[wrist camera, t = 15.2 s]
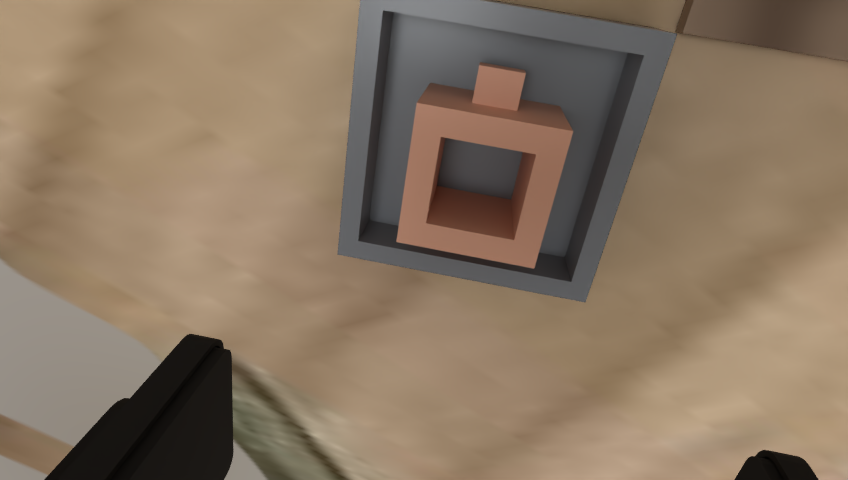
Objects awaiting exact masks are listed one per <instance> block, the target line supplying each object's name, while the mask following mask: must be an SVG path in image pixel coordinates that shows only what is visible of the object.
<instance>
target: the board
mask: <svg viewBox="0 0 848 480" xmlns="http://www.w3.org/2000/svg"><path fill="white" fill-rule="evenodd" d="M676 32H680V33H684V34H690V35H696V36H702V37H708V38H714V39H720V40H725V41H731V42H737V43H743V44H749V45H755V46H761V47H766V48H772V49H778V50H784V51H790V52H796V53H802V54H807V55H813V56H819V57H825V58H831V59H837V60H843V61H848V0H686V2H685V5H684V8H683V11H682V14H681V17H680V20H679V23H678V26H677V29H676Z"/></svg>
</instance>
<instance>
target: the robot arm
mask: <svg viewBox="0 0 848 480" xmlns="http://www.w3.org/2000/svg"><path fill="white" fill-rule="evenodd" d="M232 458H233V411H232V357H231V352H230V350H227V349H224V347H223V343H222V341H221V340H219V339H214V338H209V337H204V336H199V335H194V334H189V335H187V336H185V337H184V338H183V339H182V340H181V341H180V343H179V344H178V345H177V346H176V347H175V348H174V349H173V350H172V352H171V353H170V354H169V355H168V356H167V357H166V358H165V360H164V361H163V362H162V363H161V364H160V365H159V366H158V367H157V369H156V370H155V371H154V372H153V373H152V374H151V375H150V376H149V378H148V379H147V380H146V381H145V382H144V383H143V384H142V386H141V387H140V388H139V389H138V390H137V391H136V392H135V393H134V395H133V396H132V397H131V398H130V399H129V398H124V399H122V400H120V401H117V402H116V403H115V404H114V405H113V406H112V407H111V408H110V409H109V410H108V411H107V412H106V413H105V414H104V415H103V416H102V417H101V418H100V420H99V421H98V422H97V423H96V424H95V425H94V426H93V427H92V428H91V429H90V430H89V432H88V433H87V434H86V435H85V436H84V437H83V438H82V439H81V440H80V441H79V443H78V444H77V445H76V446H75V447H74V448H73V449H72V450H71V451H70V452H69V453H68V454H67V456H66V457H65V458H64V459H63V460H62V461H61V462H60V463H59V464H58V465H57V466H56V468H55V469H54V470H53V471H52V472H51V473H50V474H49V475H48V476H47V477H46V479H45V480H224V478H225V476H226V475H227V473H228V470H229V468H230V465H231V462H232ZM735 480H818V478H817V477H816V475H815V474H814V472H813V471H812V469H811V467H810V466H809V465H808V463H807V462H806V461H805V460H804V459H802V458H800V457H798V456H793V455H788V454H783V453H778V452H773V451H768V450H762V451H760V452H759V453H758V454H757V455H756V456H755V457H754V456H751V457H749V458H748V459H747V460H746V461H745V463H744V465H743V466H742V468H741V470H740V471H739V473H738V475H737V476H736V478H735Z"/></svg>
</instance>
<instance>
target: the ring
mask: <svg viewBox="0 0 848 480" xmlns="http://www.w3.org/2000/svg"><path fill="white" fill-rule="evenodd" d="M525 75H526V72H525V70H521V69H516V68H510V67H504V66H499V65H493V64H488V63H482V62H480V64H479V69H478V74H477V79H476V85H475V90H474V91H473V90H468V89H462V88H457V87H451V86H446V85H440V84H435V83H430V84H429V85H428V87H427V88H426V90H425V91H424V93H423V94H422V96H421V97H420V99H419V100H418V102H417V104H416V111H415V118H414V124H413V131H412V138H411V145H410V152H409V159H408V165H407V172H406V179H405V186H404V193H403V200H402V206H401V213H400V220H399V227H398V234H397V241H396V242H399V243H404V244H410V245H415V246H420V247H425V248H430V249H435V250H441V251H446V252H451V253H456V254H461V255H466V256H471V257H477V258H482V259H487V260H492V261H497V262H502V263H508V264H513V265H518V266H523V267H528V268H533V269H534V268H535V264H536V261H537V257H538V254H539V250H540V247H541V243H542V240H543V236H544V233H545V229H546V226H547V222H548V219H549V215H550V212H551V208H552V205H553V201H554V198H555V194H556V190H557V187H558V183H559V180H560V176H561V173H562V169H563V166H564V162H565V159H566V155H567V152H568V148H569V145H570V141H571V138H572V134H573V130H572V128H571V126H570V124H569V122H568V121H567V119H566V117H565V115H564V113H563V111H562V109H561V108H560V106H556V105H551V104H545V103H540V102H534V101H529V100H523V99H520V97H521V92H522V88H523V84H524V79H525ZM445 138H450V139H455V140H461V141H466V142H471V143H477V144H482V145H488V146H493V147H498V148H504V149H509V150H515V151H520V152H523V154H522V158H521V162H520V166H519V170H518V174H517V178H516V182H515V186H514V190H513V194H512V198H511V200H510V199H504V198H499V197H494V196H488V195H483V194H478V193H472V192H467V191H462V190H457V189H451V188H446V187H441V186H437V183H438V177H439V171H440V166H441V160H442V154H443V149H444V143H445Z"/></svg>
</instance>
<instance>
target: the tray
mask: <svg viewBox="0 0 848 480" xmlns="http://www.w3.org/2000/svg"><path fill="white" fill-rule="evenodd" d="M676 36H677V34H676V33H672V32H668V31H664V30H661V29H657V28H652V27H647V26H641V25H635V24H629V23H623V22H617V21H611V20H606V19H600V18H594V17H588V16H582V15H576V14H570V13H564V12H559V11H553V10H547V9H541V8H535V7H529V6H523V5H518V4H512V3H506V2H500V1H494V0H360V8H359V19H358V30H357V42H356V53H355V64H354V75H353V87H352V98H351V109H350V121H349V132H348V143H347V154H346V166H345V177H344V188H343V199H342V211H341V222H340V233H339V244H338V255H343V256H348V257H354V258H359V259H364V260H369V261H374V262H379V263H385V264H390V265H395V266H400V267H405V268H410V269H416V270H421V271H426V272H431V273H436V274H441V275H447V276H452V277H457V278H462V279H467V280H472V281H478V282H483V283H488V284H493V285H498V286H503V287H509V288H514V289H519V290H524V291H529V292H534V293H540V294H545V295H550V296H555V297H560V298H565V299H571V300H576V301H581V302H586V299H587V296H588V293H589V290H590V287H591V284H592V281H593V278H594V276H595V273H596V270H597V267H598V264H599V261H600V258H601V255H602V252H603V249H604V246H605V243H606V240H607V238H608V235H609V232H610V229H611V226H612V223H613V220H614V217H615V214H616V211H617V208H618V205H619V203H620V200H621V197H622V194H623V191H624V188H625V185H626V182H627V179H628V176H629V173H630V170H631V167H632V165H633V162H634V159H635V156H636V153H637V150H638V147H639V144H640V141H641V138H642V135H643V132H644V129H645V127H646V124H647V121H648V118H649V115H650V112H651V109H652V106H653V103H654V100H655V97H656V94H657V91H658V89H659V86H660V83H661V80H662V77H663V74H664V71H665V68H666V65H667V62H668V59H669V56H670V53H671V51H672V48H673V45H674V42H675V39H676ZM480 62H482V63H488V64H493V65H499V66H504V67H510V68H516V69H521V70H525V72H526V75H525V79H524V84H523V88H522V92H521V97H520V99H523V100H529V101H534V102H540V103H545V104H551V105H556V106H560V108H561V109H562V111H563V113H564V115H565V117H566V119H567V121H568V122H569V124H570V126H571V128H572V130H573V134H572V138H571V141H570V145H569V148H568V152H567V155H566V159H565V162H564V166H563V169H562V173H561V176H560V180H559V183H558V187H557V190H556V194H555V198H554V201H553V205H552V208H551V212H550V215H549V219H548V222H547V226H546V229H545V233H544V236H543V240H542V243H541V247H540V250H539V254H538V257H537V261H536V264H535V268H534V269H533V268H528V267H523V266H518V265H513V264H508V263H502V262H497V261H492V260H487V259H482V258H477V257H471V256H466V255H461V254H456V253H451V252H446V251H441V250H435V249H430V248H425V247H420V246H415V245H410V244H404V243H399V242H396V241H397V234H398V227H399V220H400V213H401V206H402V200H403V193H404V186H405V179H406V172H407V165H408V159H409V152H410V145H411V138H412V131H413V124H414V118H415V111H416V104H417V102H418V100H419V99H420V97H421V96H422V94H423V93H424V91H425V90H426V88H427V87H428V85H429V84H430V83H435V84H440V85H446V86H451V87H457V88H462V89H468V90H473V91H474V90H475V85H476V79H477V74H478V69H479V64H480ZM522 154H523V152H520V151H515V150H509V149H504V148H498V147H493V146H488V145H482V144H477V143H471V142H466V141H461V140H455V139H450V138H445V143H444V149H443V154H442V160H441V166H440V171H439V177H438V183H437V186H441V187H446V188H451V189H457V190H462V191H467V192H472V193H478V194H483V195H488V196H494V197H499V198H504V199H510V200H511V198H512V194H513V190H514V186H515V182H516V178H517V174H518V170H519V166H520V162H521V158H522Z"/></svg>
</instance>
